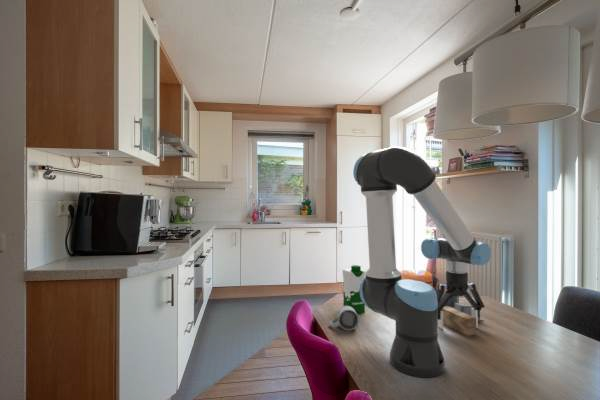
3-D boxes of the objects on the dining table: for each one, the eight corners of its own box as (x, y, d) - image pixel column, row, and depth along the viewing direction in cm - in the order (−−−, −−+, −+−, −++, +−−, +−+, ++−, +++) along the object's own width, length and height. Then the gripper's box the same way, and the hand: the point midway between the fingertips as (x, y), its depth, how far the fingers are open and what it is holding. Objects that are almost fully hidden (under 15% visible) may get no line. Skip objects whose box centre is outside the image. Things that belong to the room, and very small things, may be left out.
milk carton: (349, 315, 135) (349, 267, 135) (340, 308, 143) (340, 264, 143) (367, 312, 137) (367, 266, 138) (357, 306, 146) (357, 263, 146)
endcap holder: (483, 320, 127) (483, 305, 127) (459, 321, 126) (459, 306, 126) (454, 305, 147) (454, 292, 147) (434, 305, 146) (433, 292, 146)
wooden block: (476, 334, 114) (476, 318, 114) (467, 336, 113) (467, 319, 113) (448, 321, 128) (447, 306, 128) (439, 322, 127) (439, 307, 127)
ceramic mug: (355, 322, 126) (355, 303, 126) (359, 330, 118) (358, 309, 118) (329, 322, 126) (328, 303, 126) (330, 331, 118) (330, 310, 118)
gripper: (481, 268, 126) (482, 321, 125) (420, 270, 123) (421, 324, 123) (494, 272, 118) (495, 329, 118) (430, 274, 116) (431, 332, 116)
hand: (457, 327), depth 120 cm, fingers open, 13 cm apart
